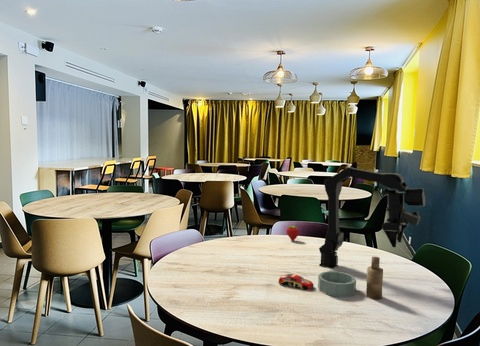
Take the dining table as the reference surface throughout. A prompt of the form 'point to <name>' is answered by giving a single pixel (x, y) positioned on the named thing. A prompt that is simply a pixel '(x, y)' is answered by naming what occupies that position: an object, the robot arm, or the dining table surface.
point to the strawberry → (292, 232)
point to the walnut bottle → (374, 280)
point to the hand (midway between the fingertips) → (396, 244)
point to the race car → (295, 282)
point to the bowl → (336, 283)
